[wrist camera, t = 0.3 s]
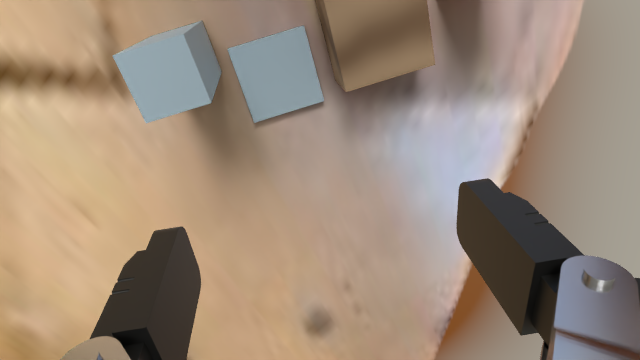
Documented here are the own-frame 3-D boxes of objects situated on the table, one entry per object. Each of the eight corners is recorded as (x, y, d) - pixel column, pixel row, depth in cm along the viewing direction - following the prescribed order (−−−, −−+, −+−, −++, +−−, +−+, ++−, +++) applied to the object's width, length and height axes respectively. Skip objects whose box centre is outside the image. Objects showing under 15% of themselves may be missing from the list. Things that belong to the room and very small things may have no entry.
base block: (312, -9, 35) (321, -8, 31) (400, -36, 35) (421, -39, 31) (335, 80, 39) (346, 92, 34) (414, 55, 39) (435, 64, 34)
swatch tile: (227, 48, 36) (227, 49, 35) (303, 25, 36) (303, 25, 35) (254, 120, 39) (254, 122, 38) (323, 99, 39) (324, 100, 38)
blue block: (151, 36, 34) (112, 55, 25) (202, 20, 34) (183, 34, 25) (173, 86, 36) (146, 123, 27) (221, 71, 36) (211, 102, 27)
